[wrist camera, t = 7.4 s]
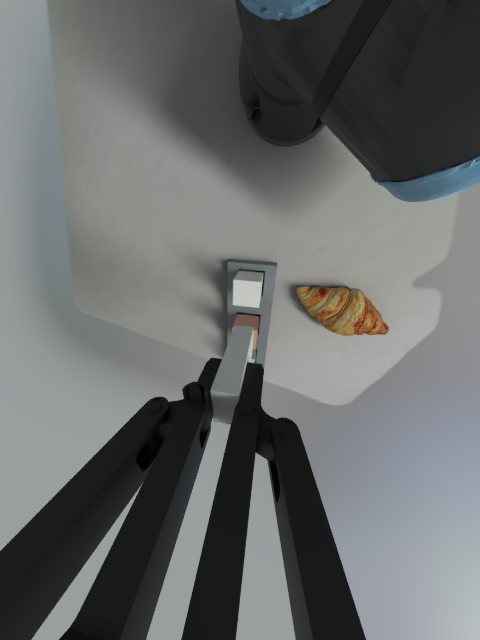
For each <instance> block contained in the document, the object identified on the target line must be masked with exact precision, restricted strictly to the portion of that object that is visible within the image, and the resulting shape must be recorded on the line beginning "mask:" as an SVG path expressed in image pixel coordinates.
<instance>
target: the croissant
mask: <svg viewBox="0 0 480 640" xmlns="http://www.w3.org/2000/svg"><path fill="white" fill-rule="evenodd" d="M296 293H297V294H298V297H299V300H300V301H301V302H302V304H304V306H305V307H306V308H307V311H308V313H309V314H310V315H311V316H312V317H314V318H317V319H318V321H319V322H320V323H321V324H322V325H323V326H324V327H325V328H326V329H328V330H330V331H332V332H334V333H337V334H341V335H345V336H350V335H353V334H356V335H362V334H364V333H366V334H368V335H375V334H386V333H387V332H388V331H389V329H388V326H387V325H386V324H385V323H384V322H383V320H382V317H381V314H380V313H379V311H377V310H376V308H375V307H374V306H373V304H372V302H371V301H370V300H369V299H368V298H366V297H365V296H364V294H363V292H362V291H361V290H359V289H356V288H354V289H348V288H344V287H340V288H331V289H330V288H327V287H317V288H316V287H315V288H313V287H310V286H301V287H299V288H297V289H296Z"/></svg>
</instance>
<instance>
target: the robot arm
mask: <svg viewBox="0 0 480 640" xmlns="http://www.w3.org/2000/svg"><path fill="white" fill-rule="evenodd" d="M235 3H236V7H237V12H238V17H239V22H240V27H241V32H242V37H243V42H242V47H241V54H240V63H239V81H240V91H241V96H242V101H243V104H244V107H245V111H246V114H247V116H248V119H249V121H250V123H251V124H252V126H253V128H254V129H255V130H256V132H257V133H258V134H259V135H260V136H261V137H262V138H264V139H265V140H266V141H268V142H270V143H272V144H275V145H278V146H293V145H297V144H300V143H303V142H305V141H307V140H309V139H310V138H312V137H313V136H314V135H316V134H317V133H318V132H319V131H320V130H321V129H322V128H323V127H324V126H325V125H326V126H327V127H328V128H329V129H330V131H331V132H332V133H333V134H334V135H335V136H336V137H337V138H338V139H339V140H340V141H341V142H342V143H343V144H344V146H345V147H346V148H347V149H348V150H349V151H350V152H351V153H352V154H353V155H354V156H355V157H356V158H357V159H358V160H359V162H360V163H361V164H362V165H363V166H364V167H365V168H366V169H367V170H368V171H369V172H370V175H371V178H372V179H373V180H374V182H376V183H378V184H379V185H382V186H384V187H385V188H386V189H387V190H388V191H389V192H390V193H391V194H392V195H393V196H395V197H396V198H397V199H400V200H403V201H407V202H421V201H428V200H432V199H436V198H440V197H443V196H446V195H449V194H452V193H455V192H457V191H460V190H462V189H465V188H467V187H470V186H472V185H474V184H476V183H478V182H480V0H235ZM253 329H254V327H249V326H240V325H235V327H234V330H233V332H232V335H231V338H230V340H229V343H228V346H227V348H226V351H225V353H224V356H223V359H218V358H211V359H210V360H209V361H207V363H206V365H205V367H204V369H203V371H202V374H201V375H200V377H199V379H198V381H197V382H192V383H189V384H187V385H186V386H185V387H184V388H183V395H184V399H183V400H179V401H172V402H168V400H167V399H166V398H164V397H155V398H153V399H151V400H149V401H148V402H147V403H146V404H145V405H144V406H143V407H142V408H141V409H140V410H139V411H138V412H137V413H136V414H135V415H134V416H133V417H132V418H131V419H130V420H129V421H128V422H127V423H126V424H125V425H124V426H123V427H122V428H121V429H120V430H119V431H118V432H117V433H116V434H115V435H114V436H113V437H112V438H111V439H110V440H109V441H108V442H107V443H106V444H105V445H104V446H103V447H102V448H101V449H100V450H99V452H98V453H96V455H94V457H93V458H92V459H91V460H90V461H89V462H88V463H87V464H86V465H85V466H84V467H83V468H82V469H81V470H80V471H79V472H78V473H77V474H76V475H75V476H74V477H73V478H72V479H71V480H70V481H69V482H68V483H67V484H66V485H65V486H64V487H63V488H62V489H61V490H60V491H59V492H58V493H57V494H56V495H55V496H54V497H53V498H52V499H51V500H50V501H49V502H48V503H47V504H46V505H45V506H44V507H43V508H42V509H41V510H40V511H39V512H38V513H37V514H36V515H35V516H34V517H33V518H32V520H31V521H30V522H29V523H28V524H27V525H26V526H25V527H24V528H23V529H22V530H21V531H20V532H19V533H18V534H17V535H16V536H15V537H14V538H13V539H12V540H11V541H10V542H9V543H8V544H7V545H6V546H5V547H4V548H3V549H2V550H1V551H0V640H31V639H32V638H33V636H34V635H35V633H36V632H37V631H38V629H39V628H40V626H41V625H42V623H43V622H44V621H45V619H46V618H47V617H48V615H49V614H50V612H51V611H52V609H53V608H54V607H55V605H56V604H57V603H58V601H59V600H60V598H61V597H62V595H63V594H64V593H65V591H66V590H67V588H68V587H69V586H70V584H71V583H72V581H73V580H74V579H75V577H76V576H77V574H78V573H79V572H80V570H81V569H82V567H83V566H84V565H85V563H86V562H87V560H88V559H89V558H90V556H91V555H92V553H93V552H94V551H95V549H96V548H97V546H98V545H99V543H100V542H101V541H102V539H103V538H104V537H105V535H106V534H107V532H108V531H109V530H110V528H111V527H112V525H113V524H114V522H115V521H116V519H117V518H118V517H119V515H120V514H121V513H122V511H123V510H124V508H125V507H126V506H127V504H128V503H129V501H130V500H131V499H132V497H133V496H134V494H135V493H136V492H137V490H138V489H139V487H140V486H141V485H142V486H141V488H140V490H139V492H138V494H137V496H136V498H135V500H134V503H133V504H132V506H131V508H130V510H129V513H128V514H127V516H126V519H125V521H124V523H123V525H122V527H121V529H120V531H119V533H118V535H117V537H116V539H115V541H114V543H113V545H112V547H111V549H110V551H109V553H108V555H107V557H106V559H105V561H104V563H103V565H102V567H101V569H100V571H99V573H98V575H97V577H96V579H95V582H94V583H93V585H92V587H91V589H90V591H89V593H88V595H87V597H86V599H85V601H84V603H83V606H82V607H81V610H80V612H79V613H78V615H77V617H76V619H75V620H74V622H73V623H72V625H71V627H70V628H69V629H68V630H67V631H66V632H65V633H64V635H63V636H62V637H61V638H60V639H59V640H146V638H147V634H148V631H149V627H150V624H151V621H152V618H153V615H154V611H155V608H156V605H157V601H158V598H159V595H160V592H161V589H162V586H163V582H164V579H165V576H166V573H167V569H168V566H169V563H170V560H171V557H172V553H173V550H174V547H175V544H176V540H177V537H178V534H179V531H180V527H181V524H182V521H183V518H184V515H185V511H186V508H187V505H188V502H189V499H190V495H191V492H192V489H193V486H194V482H195V479H196V476H197V473H198V469H199V466H200V463H201V460H202V456H203V453H204V450H205V447H206V444H207V440H208V437H209V434H210V430H211V421H212V418H213V421H216V422H222V423H227V424H231V427H230V431H229V436H228V440H227V444H226V449H225V453H224V458H223V462H222V466H221V470H220V475H219V479H218V483H217V488H216V492H215V496H214V501H213V505H212V509H211V514H210V518H209V522H208V527H207V531H206V535H205V540H204V544H203V548H202V553H201V557H200V561H199V566H198V570H197V574H196V578H195V583H194V587H193V592H192V596H191V600H190V604H189V609H188V613H187V617H186V622H185V626H184V631H183V635H182V639H181V640H236V632H237V622H238V612H239V603H240V593H241V584H242V574H243V565H244V556H245V546H246V537H247V528H248V518H249V508H250V499H251V490H252V480H253V470H254V462H255V452H256V453H258V454H259V455H261V456H262V457H264V458H266V459H267V460H268V466H269V472H270V479H271V485H272V492H273V497H274V504H275V511H276V517H277V523H278V529H279V536H280V541H281V549H282V554H283V561H284V567H285V574H286V580H287V587H288V592H289V599H290V606H291V611H292V617H293V624H294V630H295V637H296V640H366V638H365V635H364V632H363V629H362V626H361V622H360V619H359V616H358V613H357V610H356V607H355V604H354V601H353V597H352V594H351V591H350V588H349V585H348V582H347V579H346V575H345V572H344V569H343V566H342V563H341V560H340V557H339V554H338V551H337V547H336V544H335V541H334V538H333V535H332V532H331V529H330V525H329V522H328V519H327V516H326V513H325V510H324V507H323V504H322V500H321V497H320V494H319V491H318V488H317V485H316V482H315V479H314V475H313V472H312V469H311V466H310V463H309V460H308V457H307V453H306V450H305V447H304V444H303V441H302V438H301V435H300V431H299V429H298V427H297V425H296V424H295V423H294V422H293V421H292V420H290V419H288V418H278V419H275V418H273V417H271V416H269V415H268V414H266V413H265V412H264V411H263V409H262V407H261V393H262V384H263V375H264V369H263V366H262V364H258V363H251V357H252V347H253ZM142 483H143V484H142Z"/></svg>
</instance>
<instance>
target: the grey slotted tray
mask: <svg viewBox="0 0 480 640" xmlns="http://www.w3.org/2000/svg"><path fill="white" fill-rule="evenodd" d="M240 269H247V270H260V271H265V278H264V288H263V292H262V293H261V300H260V305H259V308H255V307H245V306H236V305H233V279H234V278H235V276H236V275H237V273H238V272H239V271H240ZM276 270H277V263H272V262H258V261H245V260H232V259H230V260H229V261H228V264H227V346H228V343H229V340H230V338H231V335H232V327H233V325H234V322H235V319H236V317H237V314H238V312H242V313H251V314H260V315H261V318H260V328H259V329H258V335H257V341H256V347H255V349H257V357H256V360H255V363H258V364H262V366H263V369H264V362H265V354H266V347H267V339H268V331H269V324H270V316H271V308H272V301H273V293H274V285H275V278H276Z"/></svg>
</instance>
